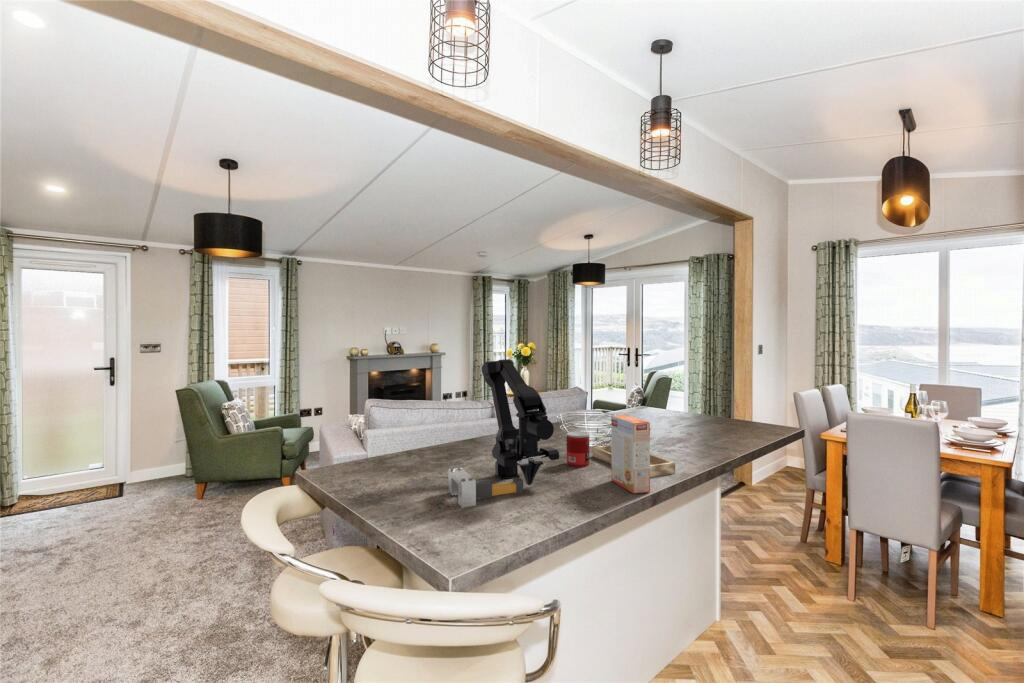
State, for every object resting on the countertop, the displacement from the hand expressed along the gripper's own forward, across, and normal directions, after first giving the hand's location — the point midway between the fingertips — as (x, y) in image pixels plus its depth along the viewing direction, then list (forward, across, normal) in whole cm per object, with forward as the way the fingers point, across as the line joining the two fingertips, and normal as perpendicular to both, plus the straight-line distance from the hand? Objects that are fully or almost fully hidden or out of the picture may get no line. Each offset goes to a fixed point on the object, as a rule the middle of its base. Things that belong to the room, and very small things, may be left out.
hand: (529, 484), depth 147 cm
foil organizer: (+1, -44, -6) cm, 45 cm away
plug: (+1, +10, -1) cm, 10 cm away
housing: (+1, +21, -2) cm, 21 cm away
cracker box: (+1, -28, +13) cm, 31 cm away
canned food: (+1, -28, -15) cm, 32 cm away
